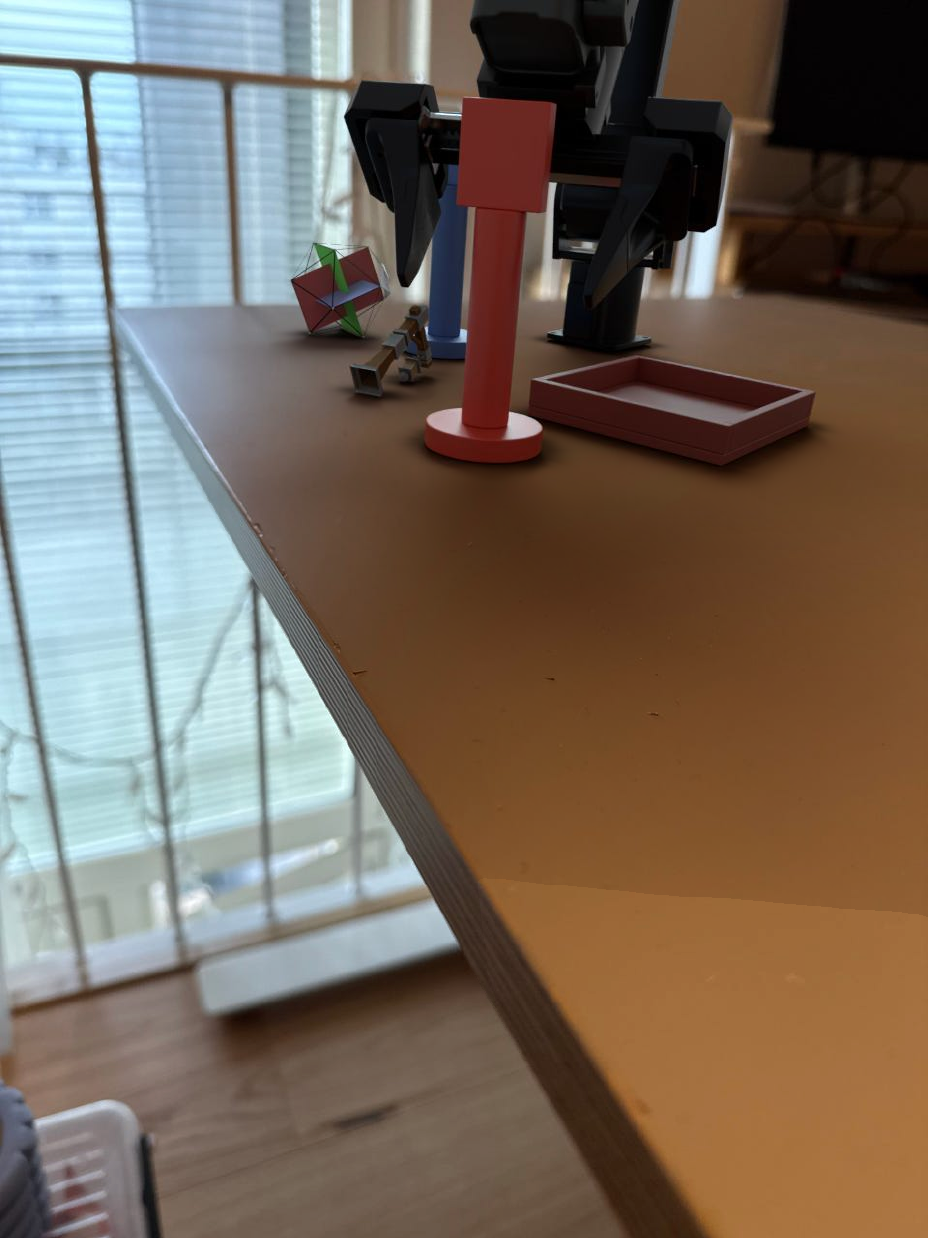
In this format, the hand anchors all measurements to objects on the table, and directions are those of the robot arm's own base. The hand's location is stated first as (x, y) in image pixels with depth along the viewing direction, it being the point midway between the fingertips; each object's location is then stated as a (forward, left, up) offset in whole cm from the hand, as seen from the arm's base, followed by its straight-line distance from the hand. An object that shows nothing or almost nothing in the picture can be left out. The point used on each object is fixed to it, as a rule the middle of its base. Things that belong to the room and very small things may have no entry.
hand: (492, 291), depth 44 cm
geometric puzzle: (-15, -26, -8) cm, 31 cm away
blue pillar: (-17, -17, -8) cm, 26 cm away
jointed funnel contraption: (-6, -12, -8) cm, 16 cm away
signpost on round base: (0, 0, -8) cm, 8 cm away
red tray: (-13, +4, -8) cm, 16 cm away
